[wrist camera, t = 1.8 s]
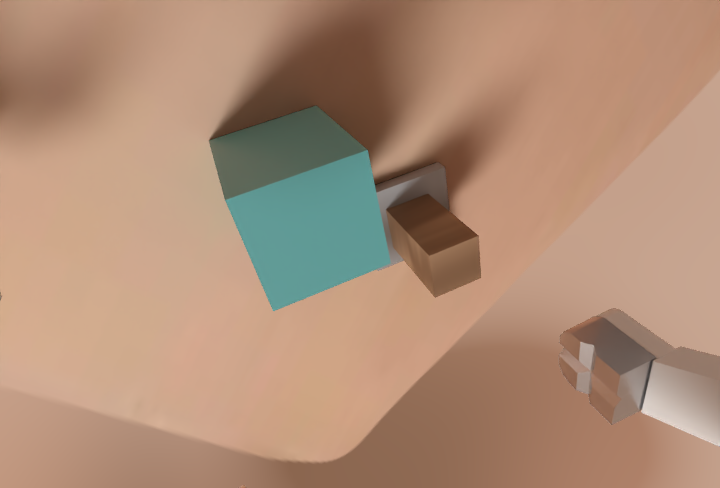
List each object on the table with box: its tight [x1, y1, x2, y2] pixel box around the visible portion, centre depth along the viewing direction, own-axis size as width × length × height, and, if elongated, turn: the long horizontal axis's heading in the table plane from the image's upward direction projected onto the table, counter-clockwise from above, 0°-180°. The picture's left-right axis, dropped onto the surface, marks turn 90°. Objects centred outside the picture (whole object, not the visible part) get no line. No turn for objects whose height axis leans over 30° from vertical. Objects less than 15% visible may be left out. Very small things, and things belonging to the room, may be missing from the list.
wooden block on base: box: [375, 162, 481, 297], centre depth 24 cm, size 5×5×6 cm
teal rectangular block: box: [209, 105, 391, 311], centre depth 20 cm, size 5×5×7 cm
